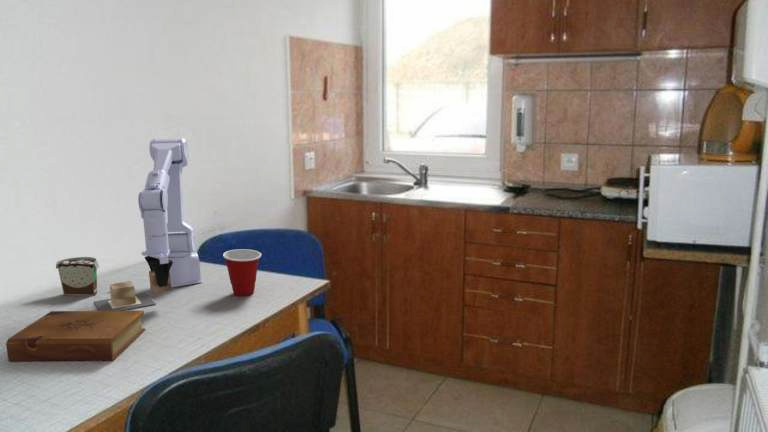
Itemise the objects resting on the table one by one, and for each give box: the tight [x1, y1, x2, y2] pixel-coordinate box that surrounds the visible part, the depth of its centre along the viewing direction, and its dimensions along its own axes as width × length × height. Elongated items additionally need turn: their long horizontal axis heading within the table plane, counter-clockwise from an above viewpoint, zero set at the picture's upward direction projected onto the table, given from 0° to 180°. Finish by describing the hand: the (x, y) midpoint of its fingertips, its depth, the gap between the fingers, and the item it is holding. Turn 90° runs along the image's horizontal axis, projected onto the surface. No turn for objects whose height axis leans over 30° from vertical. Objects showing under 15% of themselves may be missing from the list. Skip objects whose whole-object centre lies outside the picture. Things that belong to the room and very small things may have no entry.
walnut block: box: [148, 270, 172, 294], centre depth 171 cm, size 4×4×5 cm
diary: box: [5, 309, 146, 363], centre depth 148 cm, size 23×19×6 cm
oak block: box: [109, 280, 136, 307], centre depth 177 cm, size 6×6×5 cm
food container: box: [55, 256, 100, 297], centre depth 187 cm, size 12×6×10 cm, turn 84°
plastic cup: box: [222, 248, 262, 297], centre depth 183 cm, size 11×11×12 cm
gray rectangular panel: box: [94, 292, 157, 311], centre depth 177 cm, size 14×12×1 cm
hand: (160, 283), depth 172 cm, fingers closed on walnut block, 4 cm apart
